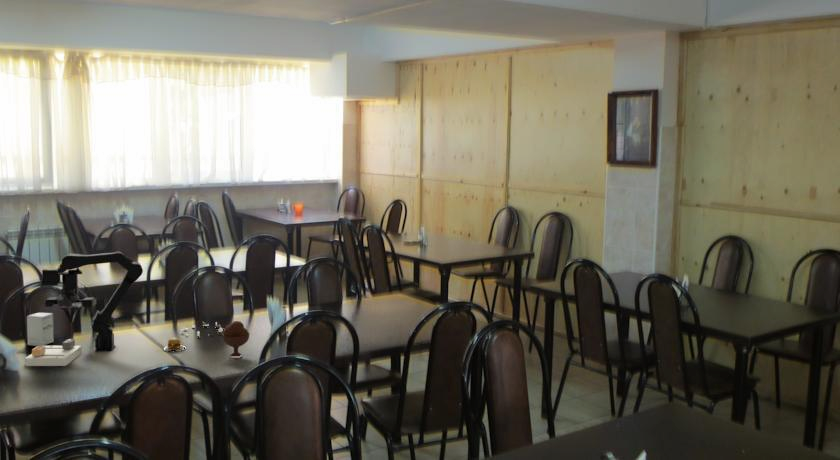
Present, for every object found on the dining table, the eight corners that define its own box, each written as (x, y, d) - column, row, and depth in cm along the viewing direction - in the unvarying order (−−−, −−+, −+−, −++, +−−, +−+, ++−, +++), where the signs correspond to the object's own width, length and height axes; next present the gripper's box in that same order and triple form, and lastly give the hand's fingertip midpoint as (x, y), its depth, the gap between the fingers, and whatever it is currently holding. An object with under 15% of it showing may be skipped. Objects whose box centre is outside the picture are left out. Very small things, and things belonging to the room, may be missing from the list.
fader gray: (74, 345, 318) (74, 338, 318) (70, 349, 313) (70, 342, 313) (67, 345, 318) (66, 338, 317) (62, 349, 313) (62, 342, 312)
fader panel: (81, 352, 320) (81, 345, 320) (65, 365, 302) (65, 358, 302) (43, 352, 319) (43, 345, 318) (25, 365, 301) (24, 357, 301)
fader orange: (45, 352, 307) (45, 345, 307) (40, 356, 303) (40, 349, 302) (37, 352, 307) (37, 345, 307) (32, 356, 302) (32, 349, 302)
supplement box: (42, 346, 328) (41, 316, 326) (27, 345, 329) (26, 315, 328) (54, 342, 335) (53, 313, 334) (39, 340, 336) (37, 311, 335)
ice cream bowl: (254, 354, 324) (254, 318, 322) (239, 361, 313) (239, 324, 311) (232, 351, 327) (232, 316, 325) (216, 358, 317) (216, 322, 315)
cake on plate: (194, 348, 333) (194, 335, 333) (180, 355, 322) (180, 342, 321) (169, 345, 336) (169, 333, 335) (153, 353, 324) (153, 340, 324)
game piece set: (233, 331, 361) (233, 323, 360) (201, 341, 344) (200, 332, 343) (203, 325, 370) (203, 317, 370) (170, 334, 353) (169, 326, 353)
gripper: (38, 288, 310) (39, 327, 311) (87, 289, 311) (88, 327, 313) (49, 283, 321) (50, 320, 322) (96, 283, 322) (97, 321, 324)
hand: (71, 322), depth 320 cm, fingers closed
